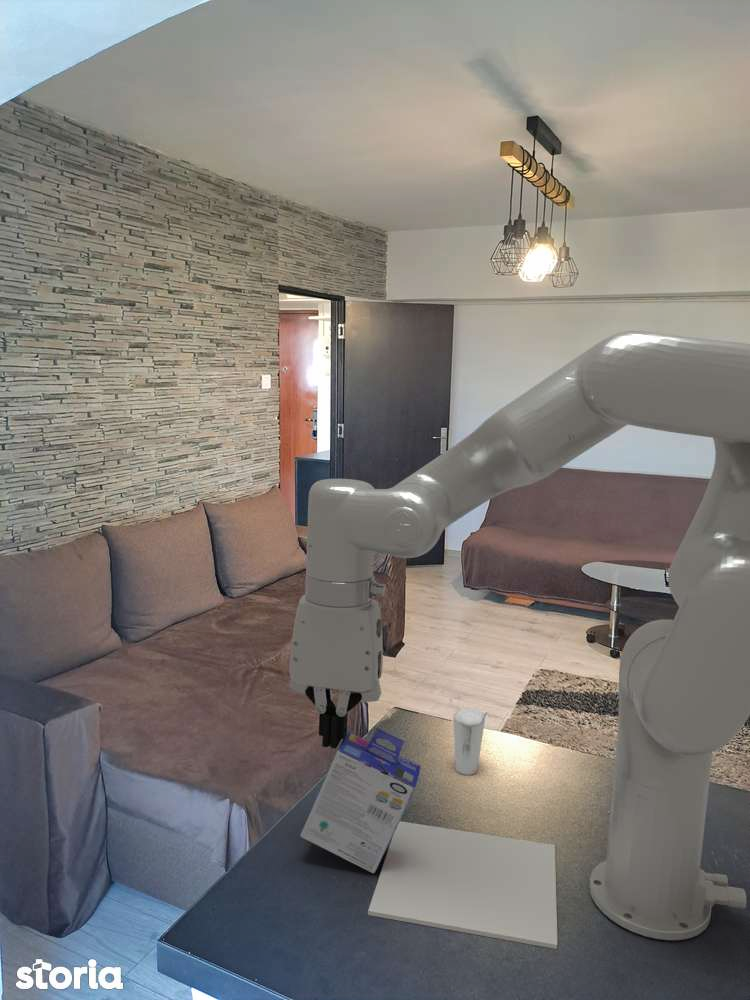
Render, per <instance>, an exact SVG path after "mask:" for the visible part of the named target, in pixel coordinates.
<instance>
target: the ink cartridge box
mask: <svg viewBox="0 0 750 1000" xmlns="http://www.w3.org/2000/svg"><path fill="white" fill-rule="evenodd" d="M377 739H381V740H387V741H389V742H390V743H391V744H392V745H393V746H394V747H395V750H392V749H389V748H387V747H386V746H383V745H381V744H379V743H378V742H377ZM404 743H405V741H404V740H402V739H400V738H398V737H396V736H394V735H392V734H390V733H388V732H386V731H384V730H382V729H380V728H376V729H375V731H374V733H373V735H372V737H371V739H370V740H369V741H368V740H367V739H364V738H362V737H360V736H358V735H355V734H354V733H352V732H350V731H347V734H346V737H345V739H342V741H340V743H339V745H338V747H337V749H336V752H335V755H334V756H333V759H332V761H331V763H330V765H329V767H328V770H327V773H326V775H325V777H324V780H323V782H322V784H321V786H320V789H319V791H318V793H317V795H316V798H315V801H314V803H313V806H312V807H311V810H310V813H309V814H308V816H307V819H306V821H305V822H304V823H305V824H304V826H303V828H302V829H301V832H300V834H299V837H301V838H302V839H304V840H306V841H308V842H310V843H312V844H314V845H315V846H318V847H320V848H321V849H323V850H326V851H328V852H330V853H332V854H334V855H336V856H338V857H340V858H341V859H343V860H346V861H347V862H349V863H351V864H353V865H355V866H358V867H360V868H362V869H363V870H365V871H368V872H370V873H371V874H375V873H376V871H377V869H378V867H379V866H380V863H381V861H382V858H383V857H384V855H385V852H386V851H387V850H388V849H387V848H389V846H390V843H391V840H392V837H393V834H394V832H395V830H396V828H397V826H398V824H399V822H400V821H401V820H402V817H403V815H404V813H405V811H406V809H407V806H408V804H409V803H410V800H411V797H412V795H413V793H414V792H415V789H416V786H417V783H418V779H419V776H420V773H421V765H420V764H418V763H416V762H414V761H412V760H409V759H408V758H405V757H403V756H400V753H401V751H402V748H403V745H404Z"/></svg>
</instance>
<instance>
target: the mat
mask: <svg viewBox="0 0 750 1000" xmlns="http://www.w3.org/2000/svg"><path fill="white" fill-rule="evenodd" d="M556 876H557V875H556V844H550V843H543V842H538V841H537V842H536V841H530V840H524V839H519V838H518V839H517V838H512V837H506V836H497V835H492V834H491V835H490V834H486V833H478V832H471V831H465V830H458V829H452V828H447V827H440V826H439V827H438V826H434V825H433V826H432V825H426V824H420V823H414V822H406V821H401V820H400V822H399V824H398V826H397V828H396V830H395V832H394V834H393V837H392V839H391V841H390V843H389V845H388V849H387V853H386V856H385V859H384V861H383V864H382V868H381V871H380V874H379V877H378V880H377V883H376V886H375V889H374V892H373V895H372V898H371V901H370V903H369V906H368V911H367V916H370V917H371V916H372V917H375V918H376V917H378V918H383V919H387V920H393V921H398V922H399V921H400V922H405V923H411V924H416V925H422V926H427V927H433V928H437V929H443V930H447V931H455V932H460V933H465V934H470V935H476V936H482V937H487V938H492V939H493V938H494V939H497V940H505V941H509V942H510V941H511V942H515V943H519V944H525V945H532V946H536V947H537V946H538V947H542V948H548V949H553V950H558V921H557V920H558V919H557V914H558V913H557V912H558V911H557V881H556V880H557V879H556Z"/></svg>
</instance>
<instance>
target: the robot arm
mask: <svg viewBox="0 0 750 1000" xmlns="http://www.w3.org/2000/svg"><path fill="white" fill-rule="evenodd" d="M628 425H629V426H633V427H638V428H645V429H649V430H654V431H655V430H656V431H662V432H666V433H667V432H668V433H675V434H682V435H683V434H684V435H690V436H697V437H706V438H712V440H713V445H714V448H715V449H714V450H715V451H714V452H715V454H714V455H715V457H714V459H715V460H714V465H713V470H712V473H711V476H710V479H709V481H708V484H707V487H706V489H705V492H704V495H703V497H702V499H701V502H700V504H699V506H698V508H697V510H696V513H695V515H694V517H693V518H692V521H691V522H690V524H689V527H688V529H687V531H686V534H685V536H684V537H683V539H682V541H681V543H680V545H679V546H678V549H677V550H676V552H675V555H674V556H673V558H672V561H671V563H670V565H669V569H668V574H667V582H668V587H669V591H670V593H671V596H672V597H673V600H674V601H675V603H676V605H677V606H678V609H677V612H676V614H675V616H674V619H656V620H651V621H649V622H646V623H645V624H643V625H641V626H640V627H638V628H637V629H636V630H635V631H634V632H632V634H631V635H630V636H629V637H628V638H627V640H626V642H625V644H624V646H623V649H622V651H621V655H620V658H619V659H620V660H619V667H618V668H619V672H618V717H617V719H618V720H617V735H616V736H617V738H616V747H615V748H616V749H615V759H614V769H613V780H612V791H611V792H612V793H611V803H610V814H609V815H610V816H609V825H608V838H607V848H606V849H607V850H606V859H605V860H602V861H601V862H600V863H598V864H596V866H595V867H594V868H593V869H592V871H591V873H590V877H589V892H590V896H591V899H592V901H593V902H594V903H595V905H596V906H597V907H598V909H599V910H600V911H601V913H603V914H604V915H605V916H606V917H608V918H609V920H611V921H613V922H614V923H615V924H616V925H618V926H620V927H622V928H623V929H626V930H628V931H630V932H632V933H634V934H638V935H641V936H643V937H646V938H650V939H655V940H663V941H683V940H688V939H691V938H694V937H696V936H698V935H701V934H702V933H703V932H704V931H706V929H707V928H708V926H709V924H710V921H711V918H712V917H711V915H712V914H711V913H712V907H713V908H714V906H715V904H718V905H722V906H726V907H732V908H737V909H744V910H745V909H746V908H747V903H748V902H747V894H746V893H747V892H746V890H745V888H740V887H734V886H729V879H728V876H727V875H726V874H721V873H712V872H711V873H710V872H705V870H704V869H702V868H701V862H702V861H701V860H702V851H703V843H704V842H703V841H704V833H705V832H704V831H705V824H706V816H707V814H706V813H707V805H708V798H709V797H708V796H709V789H710V788H709V787H710V786H709V785H710V782H711V781H710V780H711V771H712V764H713V763H712V762H713V761H712V760H713V753H714V752H716V751H718V750H720V749H721V748H724V747H725V746H726V745H727V744H728V743H730V742H731V741H732V740H733V739H734V738H735V736H737V735H738V734H739V732H740V731H741V729H742V728H743V727H744V725H745V723H746V722H747V720H748V718H749V717H750V343H745V342H744V343H742V342H737V341H736V342H734V341H724V340H719V339H718V340H716V339H707V338H698V337H691V336H690V337H689V336H681V335H675V334H673V335H672V334H668V333H667V334H666V333H659V332H651V331H646V330H626V331H622V332H621V331H620V332H618V333H616V334H613V335H611V336H608V337H607V338H604V339H602V340H601V341H599V342H597V343H596V344H595V345H593V346H592V347H590V348H588V349H587V350H586V351H584V352H582V353H581V354H579V355H578V356H577V357H575V358H574V359H572V360H571V361H570V362H568V363H567V364H565V365H563V366H562V367H561V368H559V369H557V370H556V371H554V373H552V374H551V375H549V376H547V377H545V379H543V380H541V381H540V382H539V383H537V384H536V385H534V386H533V387H531V388H530V389H528V390H527V391H526V392H524V393H523V394H521V395H519V396H517V398H515V399H513V400H512V401H511V402H509V403H508V404H506V405H504V406H503V407H502V408H500V409H499V410H497V411H496V412H494V413H493V414H492V415H491V416H488V418H487V419H486V420H484V421H483V422H482V423H481V424H480V425H479V426H478V427H477V428H476V429H475V430H474V431H473V432H471V433H470V434H469V435H467V436H466V437H465V438H463V439H462V440H461V441H459V442H457V443H456V444H455V445H453V446H451V448H449V449H447V450H446V451H444V452H443V453H441V454H440V455H439V456H437V457H436V458H434V459H433V460H431V461H430V462H428V463H427V464H425V465H424V466H422V467H421V468H419V469H418V470H416V471H414V472H413V473H412V474H410V475H409V476H407V477H406V478H404V479H403V480H401V481H399V482H398V483H397V484H396V485H394V486H393V487H389V488H374V486H373V485H372V483H368V482H366V481H363V480H359V479H351V478H328V479H327V478H325V479H320V480H318V481H316V482H314V483H312V485H311V487H310V490H309V491H308V492H309V493H308V501H307V502H308V503H307V506H308V507H307V531H306V533H307V535H306V561H305V563H306V564H305V565H306V566H305V567H306V569H305V585H304V586H305V588H304V589H305V590H304V591H305V592H304V594H303V595H302V596H301V598H299V602H298V605H297V608H296V614H295V619H294V624H293V630H292V631H293V632H292V636H291V646H290V654H289V655H290V656H289V677H290V679H289V683H288V687H289V689H290V690H292V691H294V692H297V693H299V694H301V695H305V696H306V697H307V698H308V700H310V701H311V703H312V704H313V705H314V706H315V711H316V712H317V713H318V715H319V716H318V718H319V719H318V736H320V737H322V745H321V746H322V747H323V748H328V747H330V748H331V749H336V750H337V749H338V747H339V745H340V744H341V742H342V741H341V740H343V739H345V737H346V734H347V732H348V721H349V720H348V719H349V718H348V716H349V715H348V714H349V712H350V711H351V710H352V709H354V708H355V707H356V706H357V705H359V703H373V702H378V701H379V700H380V698H381V697H382V696H381V695H382V689H381V685H380V679H381V677H382V675H383V674H382V673H383V665H384V664H383V663H384V662H383V661H384V660H383V659H384V658H383V653H384V652H383V651H384V648H383V645H384V644H383V625H382V624H383V623H382V615H381V608H380V602H379V601H378V600H377V599H374V598H375V597H378V596H379V597H385V594H386V584H384V583H379V582H377V580H376V579H375V574H374V564H375V561H374V560H375V559H374V558H375V553H378V554H383V555H386V556H391V557H395V558H400V559H401V558H402V559H411V558H417V557H421V556H423V555H425V554H427V553H428V552H430V551H431V550H432V549H433V548H434V547H435V545H436V544H437V543H438V541H439V539H440V538H441V535H442V533H443V531H444V530H445V529H447V528H448V527H449V526H451V525H453V524H454V523H455V522H457V521H459V520H460V519H461V518H463V517H465V516H466V515H467V514H470V512H472V511H473V510H475V509H477V508H478V507H480V506H481V505H483V504H485V503H486V502H488V501H489V500H490V501H491V499H493V498H495V497H497V496H499V495H501V494H503V493H505V492H508V491H509V490H513V489H516V488H521V487H525V486H528V485H532V484H534V483H536V482H539V481H541V480H543V479H545V478H547V477H548V476H550V475H552V474H553V473H555V472H556V471H558V470H559V469H561V468H562V467H564V466H566V465H567V464H568V463H570V462H571V461H573V460H575V459H576V458H578V457H579V456H581V455H582V454H584V453H585V452H587V451H588V450H590V449H592V448H593V447H594V446H596V445H598V444H599V443H601V442H602V441H604V440H605V439H607V438H609V437H611V436H612V435H613V434H615V433H618V432H619V431H620V430H622V429H623V428H625V427H626V426H628ZM332 691H339V694H338V698H337V704H335V703H334V700H333V693H332Z"/></svg>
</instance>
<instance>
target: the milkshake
mask: <svg viewBox="0 0 750 1000" xmlns="http://www.w3.org/2000/svg"><path fill="white" fill-rule="evenodd" d="M487 714H488V711H486V712H485V713H484V714H483V713H482V712H481V711H480V710H478V709H475V708H472V707H462V708H459V709H458V710H456V712H455V713H454V714H453V719H452V720H453V735H454V737H453V739H454V740H453V741H454V742H453V743H454V768H455V770H456V772H457V773H458V774H461V775H464V776H465V775H466V776H471V775H475V774H476V773H477V772H478V770H479V764H480V757H481V756H480V755H481V751H482V750H481V748H482V740H483V735H484V728H485V722H486V716H487Z"/></svg>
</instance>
